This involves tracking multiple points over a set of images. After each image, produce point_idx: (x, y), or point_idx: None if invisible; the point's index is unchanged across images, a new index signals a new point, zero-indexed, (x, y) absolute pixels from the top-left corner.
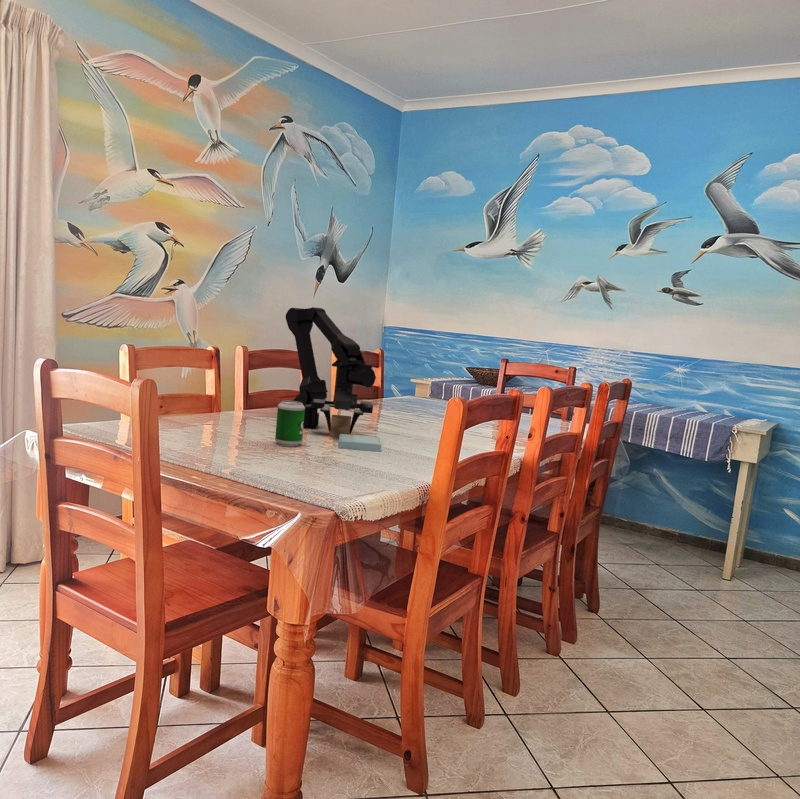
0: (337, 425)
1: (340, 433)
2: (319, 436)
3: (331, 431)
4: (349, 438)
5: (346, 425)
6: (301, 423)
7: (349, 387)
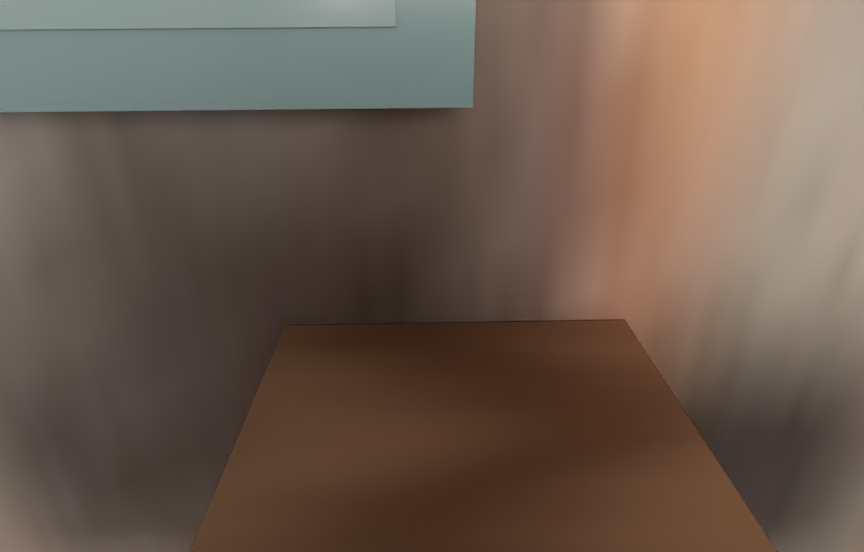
0: (558, 491)
1: (448, 367)
2: (808, 276)
3: (636, 382)
4: None
5: (313, 516)
6: None
7: None
